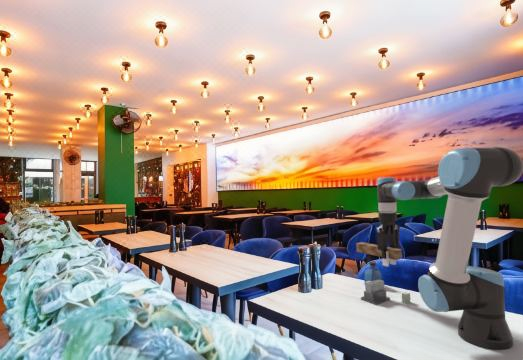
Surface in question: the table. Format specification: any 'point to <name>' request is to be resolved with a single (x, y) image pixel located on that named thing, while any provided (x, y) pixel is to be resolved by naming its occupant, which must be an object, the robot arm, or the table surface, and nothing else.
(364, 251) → the batten
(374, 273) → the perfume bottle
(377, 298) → the fulcrum
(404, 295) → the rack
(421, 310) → the table surface
